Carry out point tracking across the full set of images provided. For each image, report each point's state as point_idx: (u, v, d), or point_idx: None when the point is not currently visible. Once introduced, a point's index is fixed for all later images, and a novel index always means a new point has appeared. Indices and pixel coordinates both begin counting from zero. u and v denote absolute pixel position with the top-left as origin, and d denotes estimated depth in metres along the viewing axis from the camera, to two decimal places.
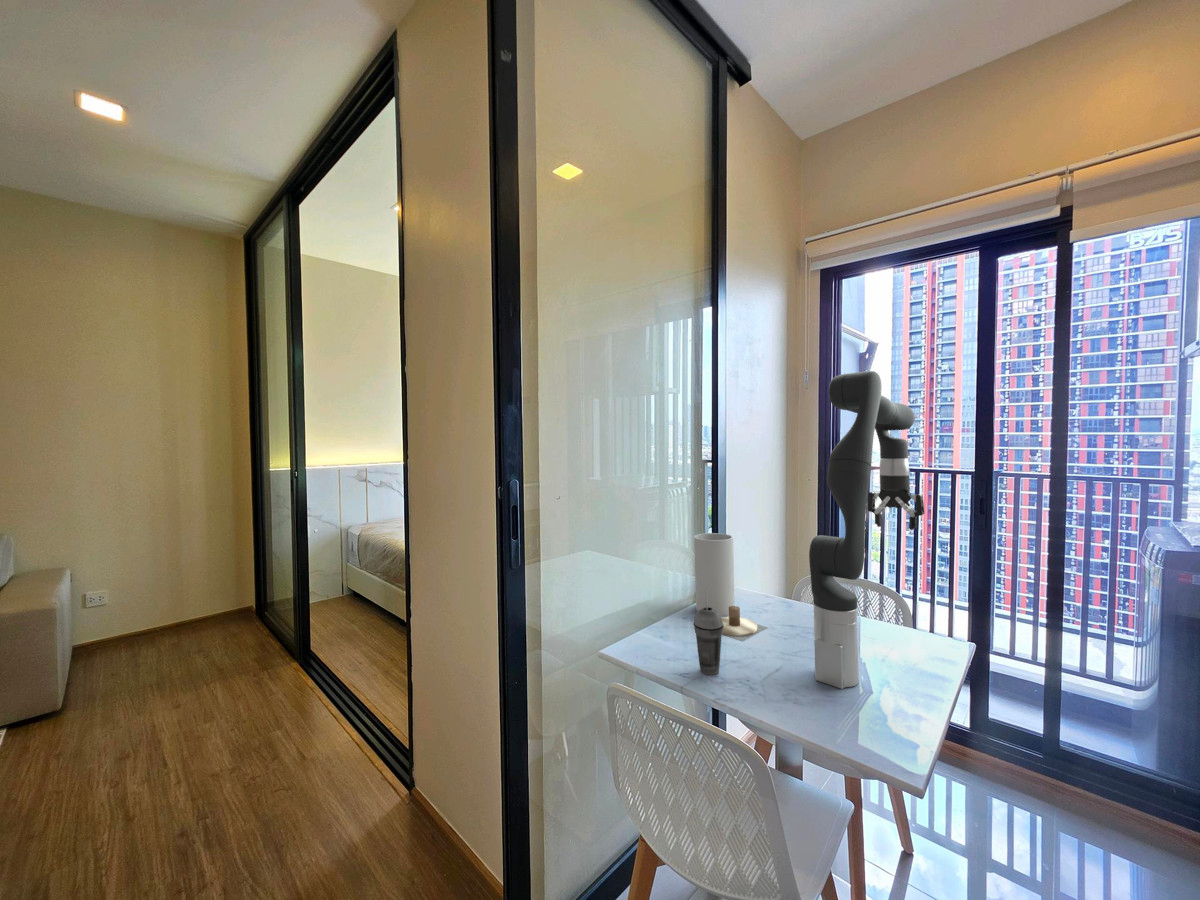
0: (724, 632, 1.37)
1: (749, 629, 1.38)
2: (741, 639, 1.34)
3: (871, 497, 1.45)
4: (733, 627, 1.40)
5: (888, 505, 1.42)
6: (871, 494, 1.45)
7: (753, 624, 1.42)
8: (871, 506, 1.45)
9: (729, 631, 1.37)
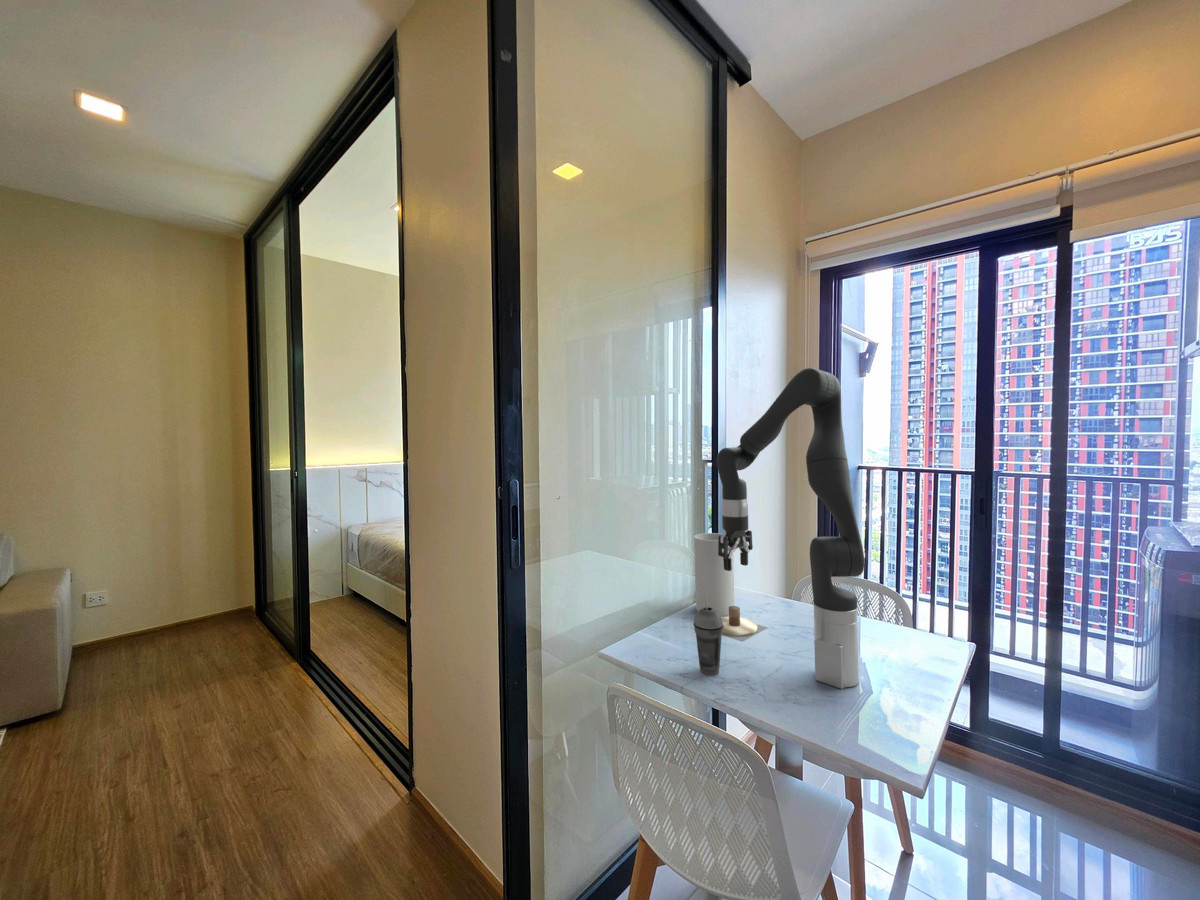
0: (724, 632, 1.37)
1: (749, 629, 1.38)
2: (741, 639, 1.34)
3: (727, 542, 1.37)
4: (733, 627, 1.40)
5: None
6: (727, 538, 1.37)
7: (753, 624, 1.42)
8: (726, 551, 1.38)
9: (729, 631, 1.37)
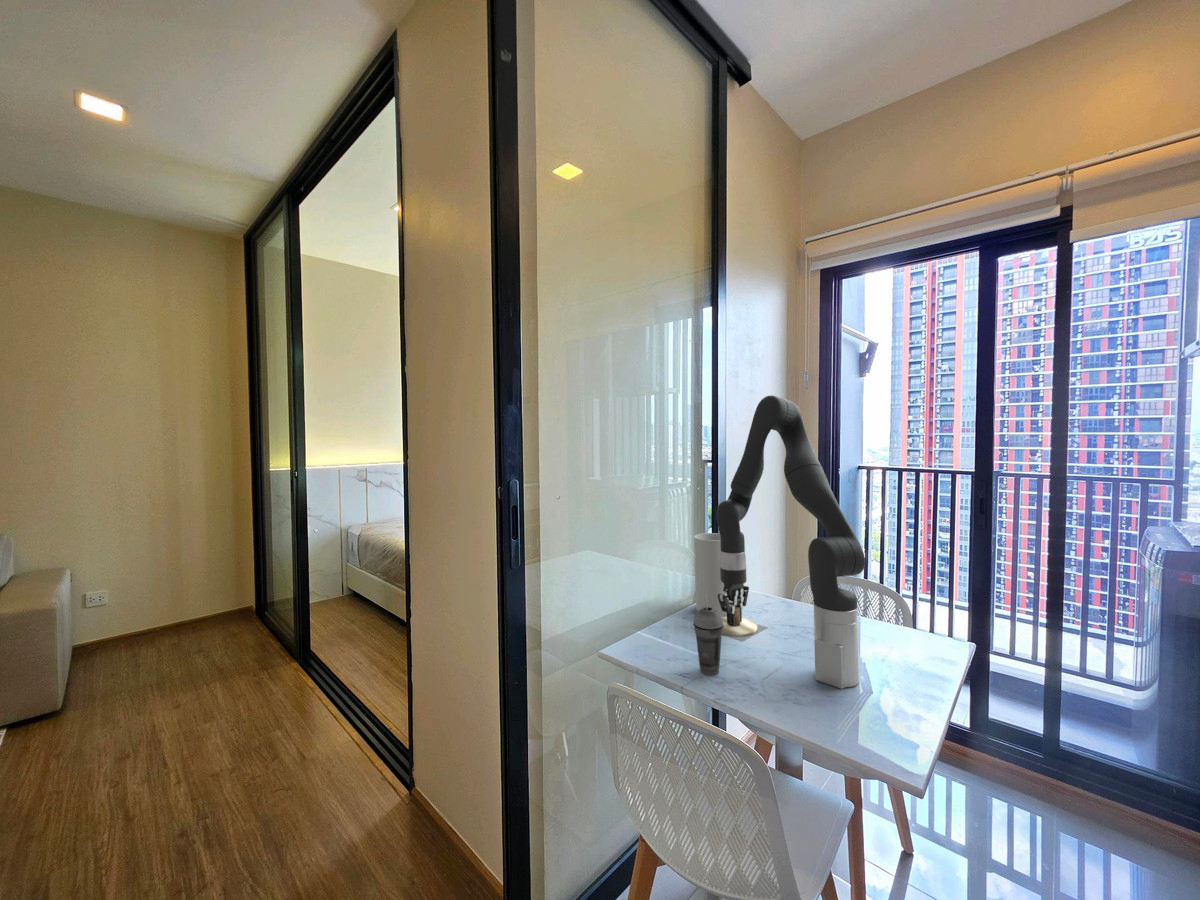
0: (724, 632, 1.37)
1: (749, 628, 1.38)
2: (741, 639, 1.34)
3: (727, 599, 1.38)
4: (733, 627, 1.40)
5: None
6: (726, 597, 1.37)
7: (753, 624, 1.42)
8: (729, 607, 1.39)
9: (729, 631, 1.37)
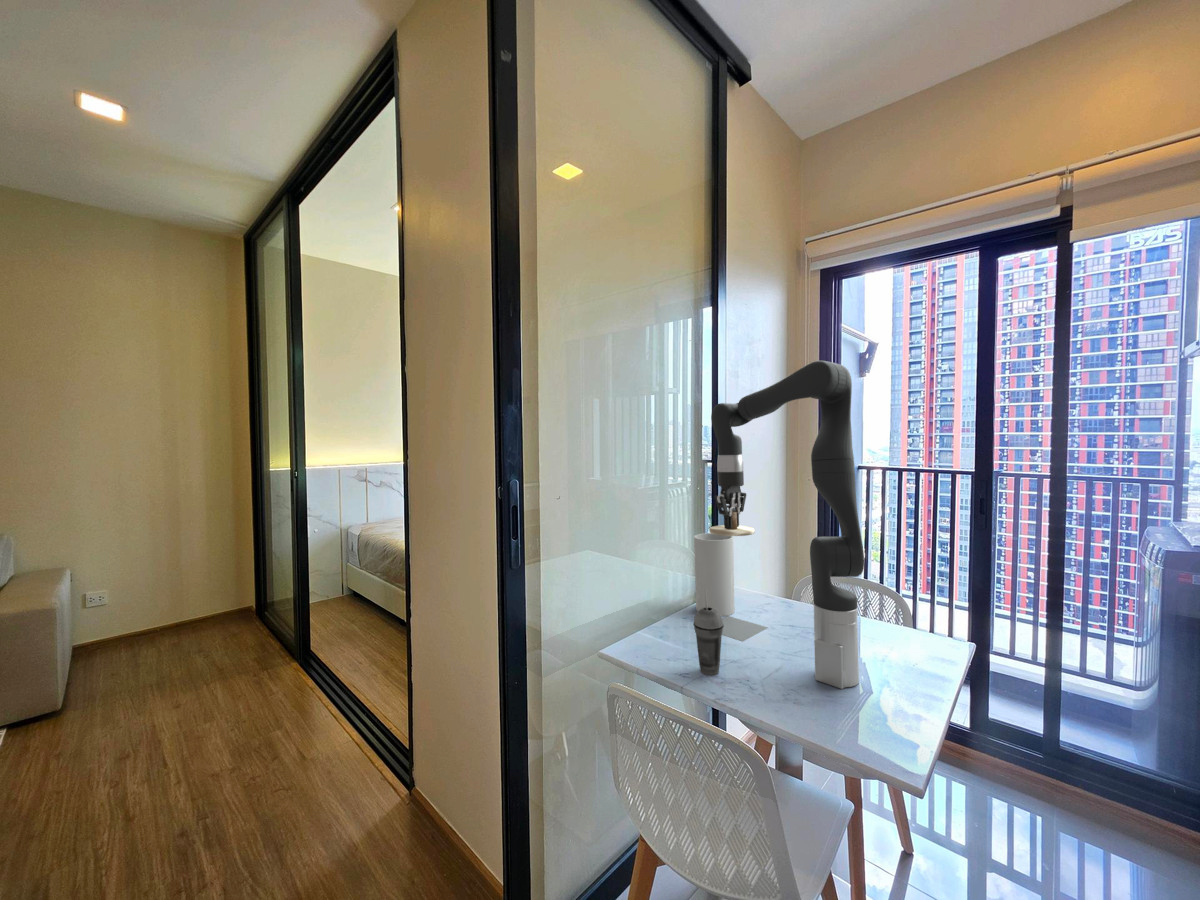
0: (721, 533, 1.37)
1: (746, 530, 1.38)
2: (741, 639, 1.34)
3: (724, 500, 1.37)
4: (730, 530, 1.39)
5: None
6: (723, 497, 1.37)
7: (750, 528, 1.41)
8: (726, 508, 1.38)
9: (726, 532, 1.37)
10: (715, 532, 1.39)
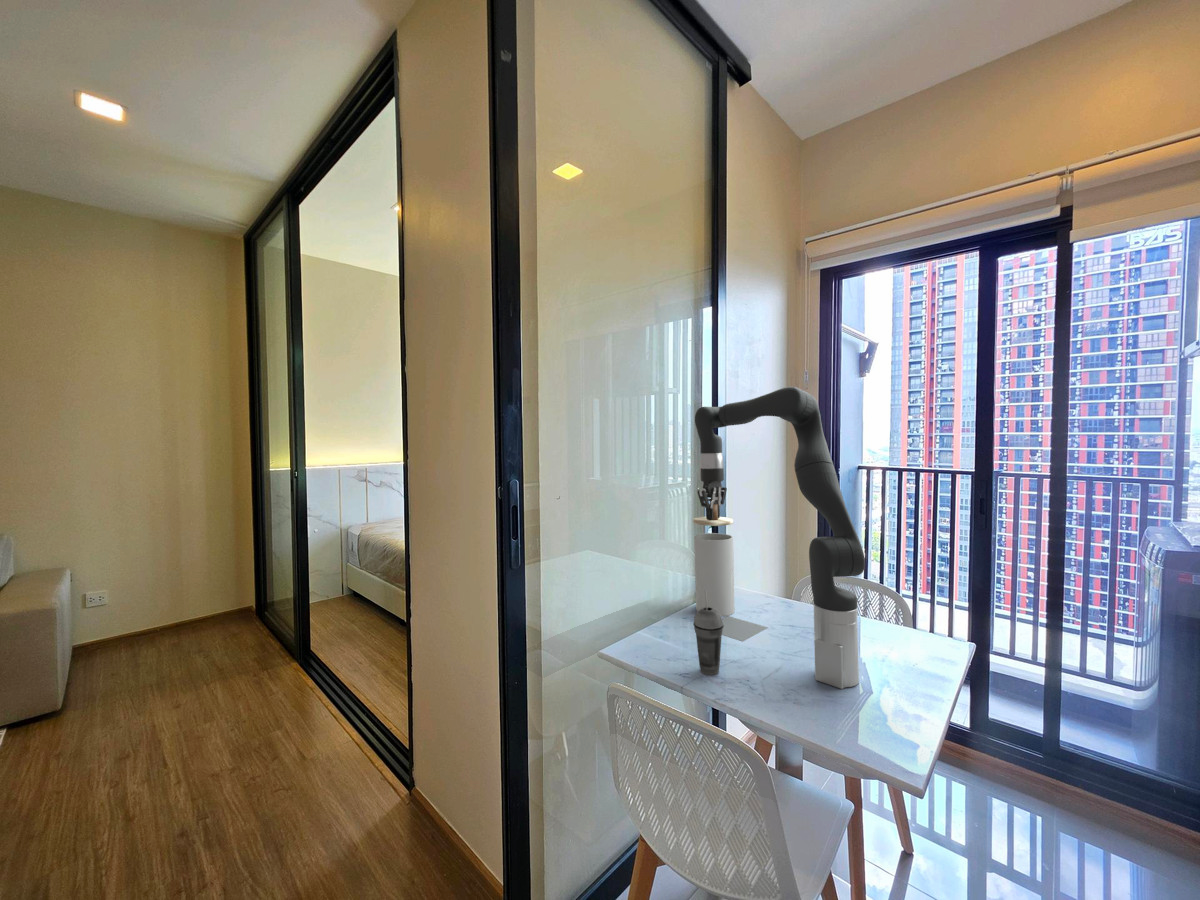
0: (703, 523, 1.53)
1: (725, 521, 1.54)
2: (741, 639, 1.34)
3: (705, 494, 1.53)
4: (711, 520, 1.55)
5: None
6: (705, 491, 1.53)
7: (730, 519, 1.57)
8: (707, 501, 1.54)
9: (707, 522, 1.53)
10: (698, 522, 1.55)
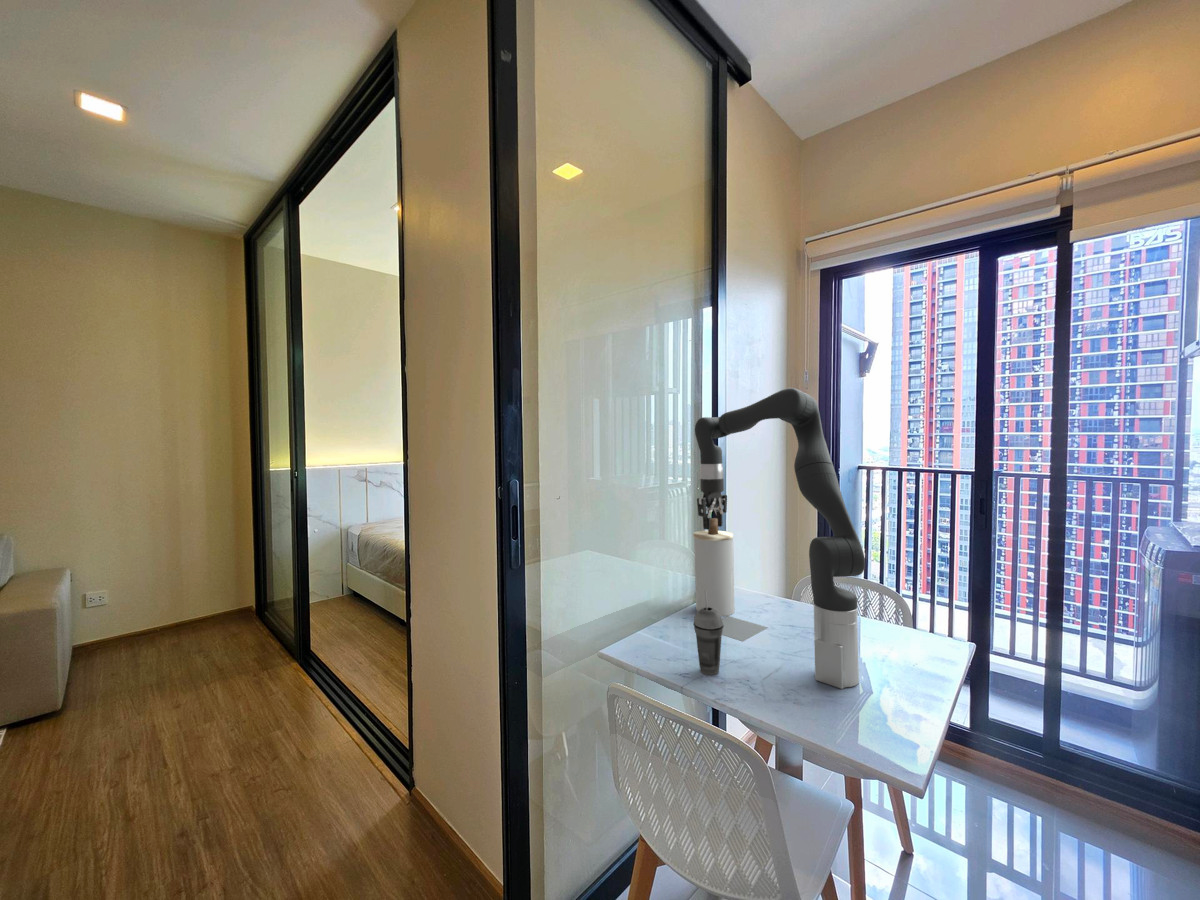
0: (703, 538, 1.53)
1: (725, 535, 1.54)
2: (741, 639, 1.34)
3: (705, 503, 1.53)
4: (711, 535, 1.55)
5: None
6: (704, 500, 1.53)
7: (730, 533, 1.57)
8: (705, 511, 1.53)
9: (707, 537, 1.53)
10: (698, 537, 1.55)
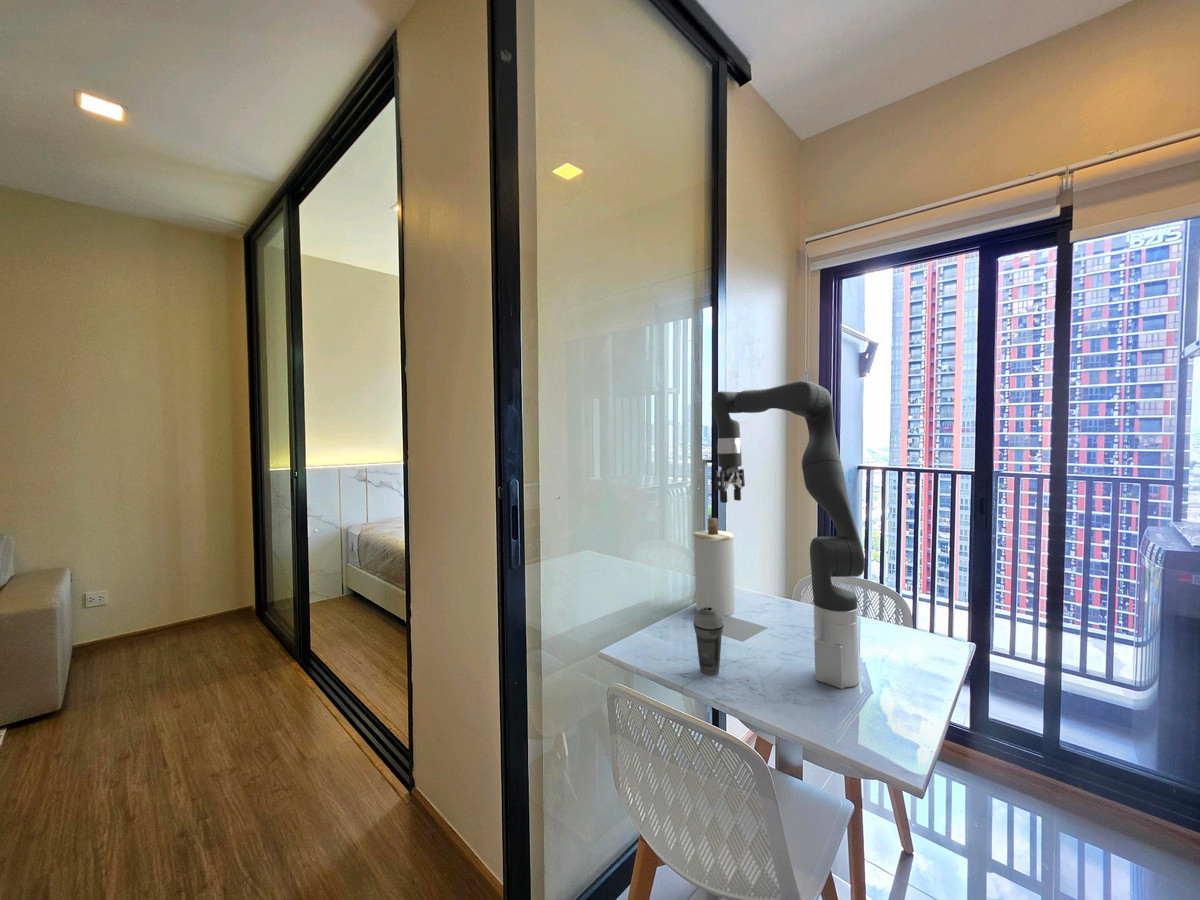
0: (703, 538, 1.53)
1: (725, 535, 1.54)
2: (741, 639, 1.34)
3: (723, 475, 1.51)
4: (711, 535, 1.55)
5: None
6: (723, 472, 1.51)
7: (730, 533, 1.57)
8: (723, 484, 1.51)
9: (707, 537, 1.53)
10: (697, 537, 1.55)
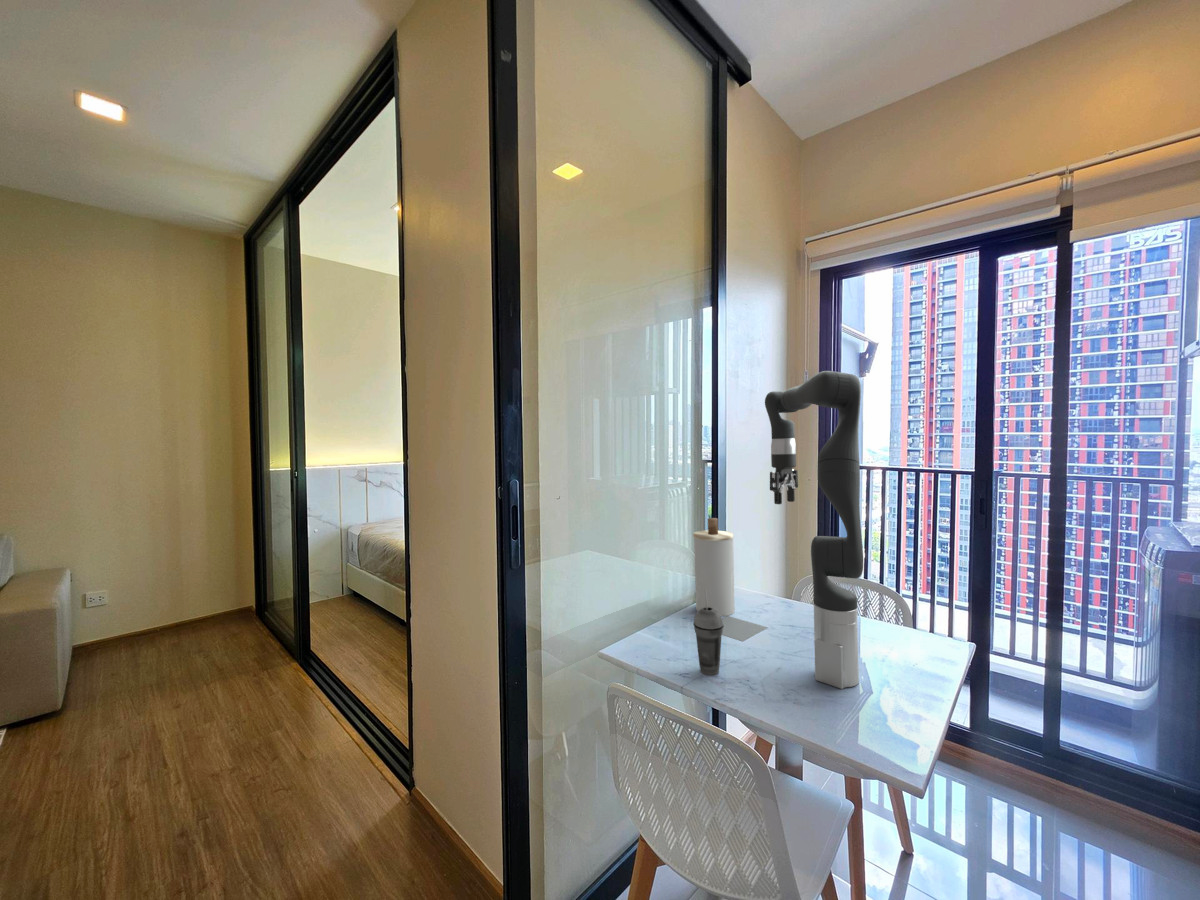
0: (703, 538, 1.53)
1: (725, 535, 1.54)
2: (741, 639, 1.34)
3: (778, 476, 1.49)
4: (711, 535, 1.55)
5: None
6: (778, 473, 1.49)
7: (730, 533, 1.57)
8: (778, 485, 1.49)
9: (707, 537, 1.53)
10: (697, 537, 1.55)
